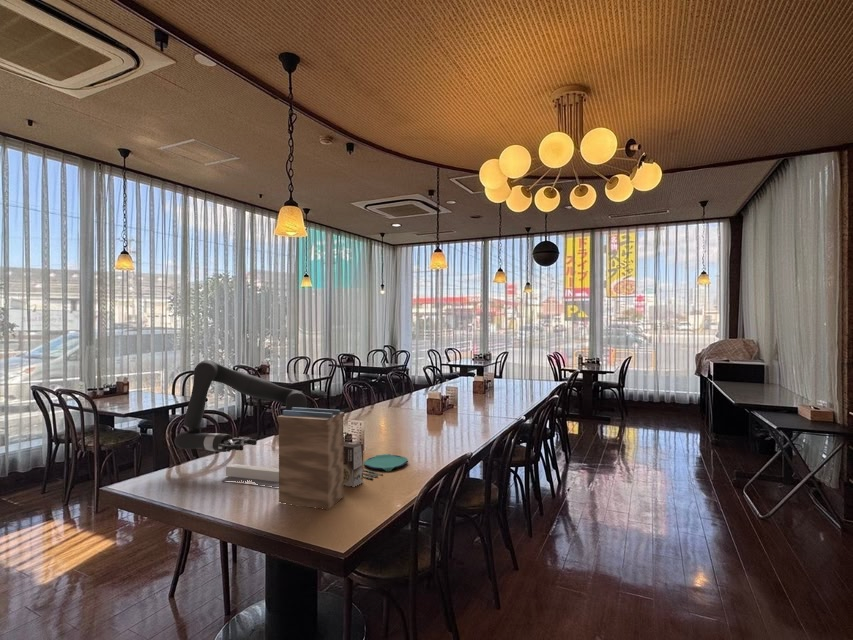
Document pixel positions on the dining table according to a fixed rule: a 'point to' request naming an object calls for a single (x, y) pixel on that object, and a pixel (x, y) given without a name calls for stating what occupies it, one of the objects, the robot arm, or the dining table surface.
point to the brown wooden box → (311, 457)
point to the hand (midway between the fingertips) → (249, 445)
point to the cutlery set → (384, 463)
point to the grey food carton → (352, 464)
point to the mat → (259, 482)
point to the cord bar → (253, 472)
